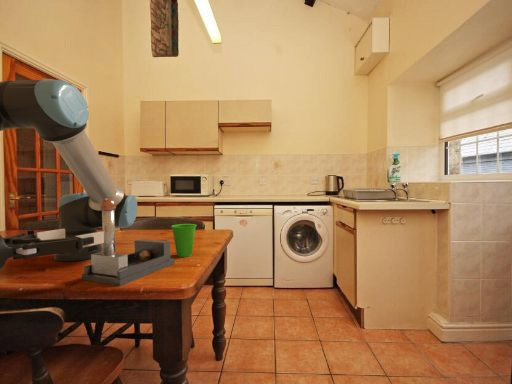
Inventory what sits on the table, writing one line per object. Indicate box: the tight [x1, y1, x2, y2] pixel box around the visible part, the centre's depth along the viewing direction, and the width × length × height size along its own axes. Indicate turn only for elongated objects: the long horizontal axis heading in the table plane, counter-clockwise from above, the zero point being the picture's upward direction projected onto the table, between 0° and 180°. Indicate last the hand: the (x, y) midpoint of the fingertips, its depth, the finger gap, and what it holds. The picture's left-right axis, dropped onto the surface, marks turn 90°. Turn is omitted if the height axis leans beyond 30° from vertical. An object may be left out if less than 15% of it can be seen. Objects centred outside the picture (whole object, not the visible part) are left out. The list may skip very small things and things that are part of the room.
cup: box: [170, 223, 197, 258], centre depth 102 cm, size 9×9×11 cm
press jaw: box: [90, 198, 128, 276], centre depth 77 cm, size 4×10×20 cm, turn 68°
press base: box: [81, 238, 176, 287], centre depth 84 cm, size 22×14×8 cm, turn 158°
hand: (83, 235), depth 69 cm, fingers open, 13 cm apart
